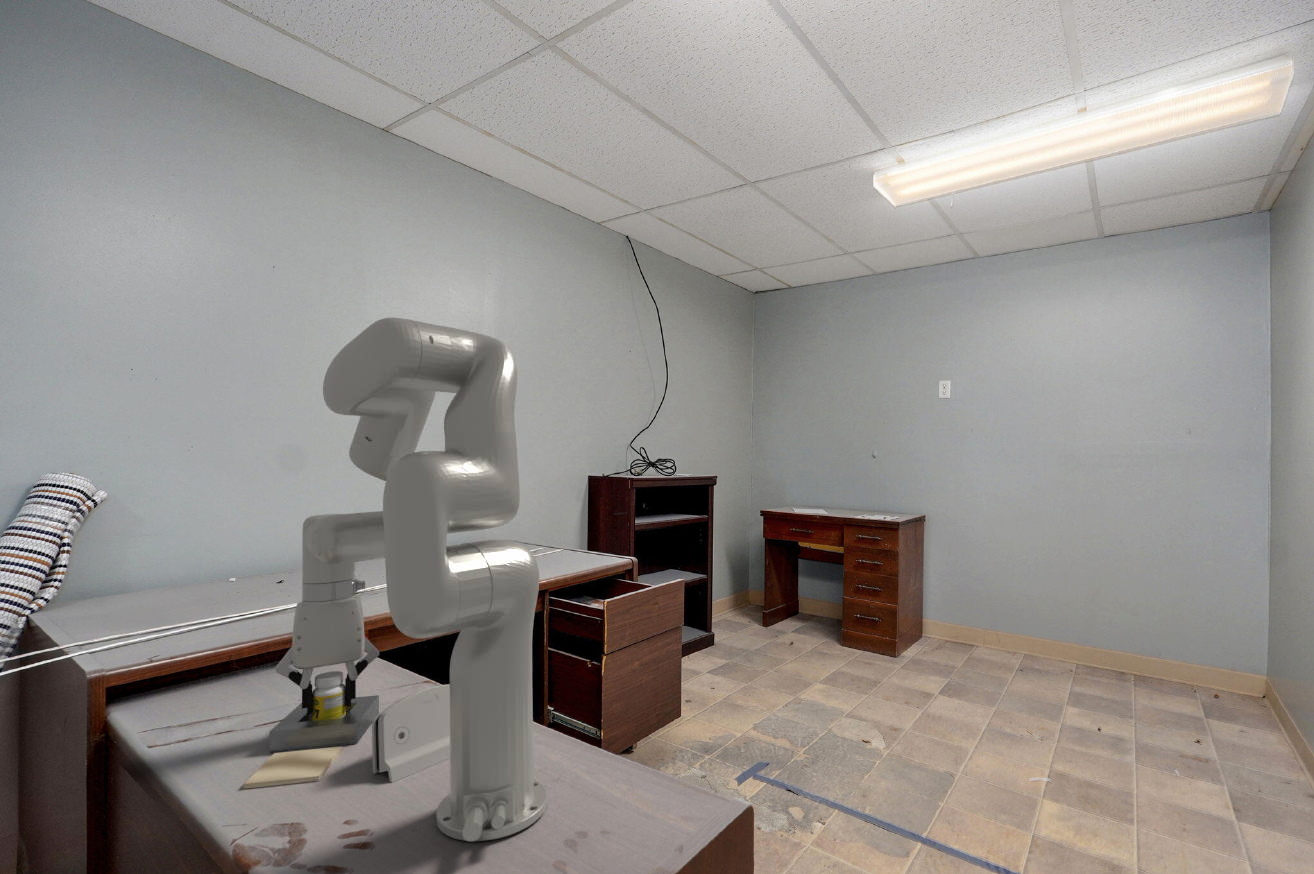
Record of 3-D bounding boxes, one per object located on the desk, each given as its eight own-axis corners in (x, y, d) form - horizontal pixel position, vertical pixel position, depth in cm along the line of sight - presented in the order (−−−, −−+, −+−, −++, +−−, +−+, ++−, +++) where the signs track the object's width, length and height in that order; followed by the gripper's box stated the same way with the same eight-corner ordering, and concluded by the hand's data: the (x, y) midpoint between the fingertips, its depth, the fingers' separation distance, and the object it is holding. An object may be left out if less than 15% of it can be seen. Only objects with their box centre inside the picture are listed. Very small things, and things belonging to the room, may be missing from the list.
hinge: (389, 783, 79) (376, 703, 82) (373, 786, 82) (361, 708, 84) (497, 738, 92) (483, 670, 94) (480, 741, 94) (467, 676, 97)
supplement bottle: (309, 728, 96) (310, 674, 97) (342, 720, 99) (342, 668, 100) (314, 738, 93) (314, 681, 93) (348, 729, 95) (348, 675, 96)
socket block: (356, 743, 91) (356, 723, 91) (269, 752, 89) (269, 731, 89) (378, 713, 103) (379, 695, 103) (302, 720, 101) (302, 701, 101)
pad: (318, 780, 80) (318, 776, 80) (243, 788, 79) (243, 784, 79) (341, 750, 89) (341, 746, 89) (274, 757, 87) (274, 753, 87)
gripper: (384, 582, 105) (384, 690, 104) (268, 594, 96) (267, 712, 95) (389, 588, 98) (389, 703, 97) (264, 602, 90) (263, 728, 89)
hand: (329, 706), depth 96 cm, fingers closed on supplement bottle, 4 cm apart
